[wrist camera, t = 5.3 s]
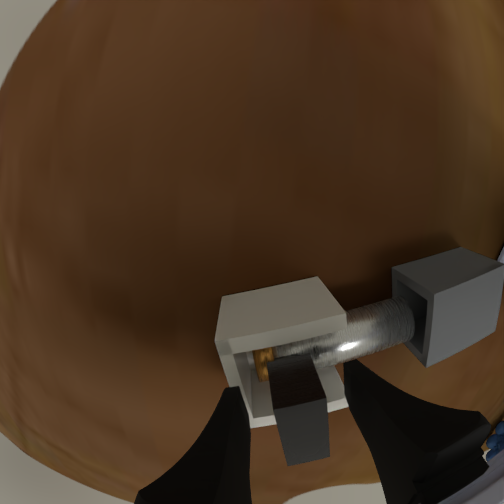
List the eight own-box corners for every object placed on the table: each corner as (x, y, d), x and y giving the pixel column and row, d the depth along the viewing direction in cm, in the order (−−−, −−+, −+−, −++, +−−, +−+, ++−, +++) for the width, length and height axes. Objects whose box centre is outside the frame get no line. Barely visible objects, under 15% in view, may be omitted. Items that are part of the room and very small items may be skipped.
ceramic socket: (317, 276, 16) (346, 313, 11) (326, 357, 18) (348, 406, 13) (222, 296, 16) (214, 341, 11) (244, 375, 18) (245, 428, 13)
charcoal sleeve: (460, 246, 16) (505, 264, 11) (457, 305, 17) (494, 330, 13) (391, 267, 16) (434, 294, 12) (391, 330, 17) (426, 367, 13)
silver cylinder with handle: (391, 279, 15) (472, 339, 8) (391, 334, 16) (453, 405, 9) (247, 314, 15) (252, 413, 8) (260, 369, 16) (271, 468, 9)
